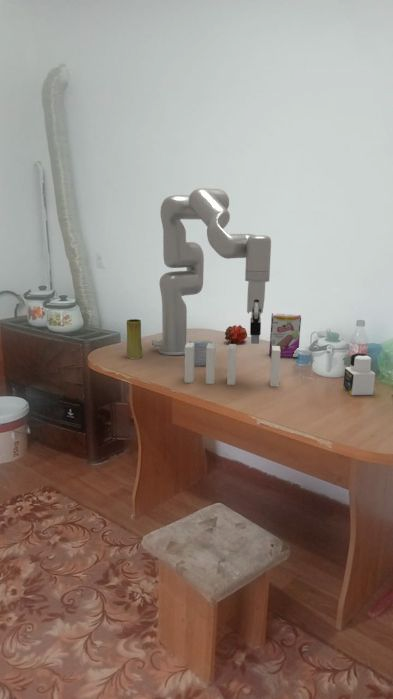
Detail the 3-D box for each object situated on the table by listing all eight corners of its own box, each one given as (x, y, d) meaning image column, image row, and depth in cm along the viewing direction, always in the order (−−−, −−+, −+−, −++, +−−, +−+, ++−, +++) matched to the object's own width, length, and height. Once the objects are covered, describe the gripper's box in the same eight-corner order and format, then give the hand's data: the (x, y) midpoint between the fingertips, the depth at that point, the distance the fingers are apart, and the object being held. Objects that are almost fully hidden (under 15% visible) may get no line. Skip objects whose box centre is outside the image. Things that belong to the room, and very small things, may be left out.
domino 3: (227, 384, 168) (228, 348, 165) (228, 378, 174) (229, 344, 171) (234, 384, 168) (236, 349, 165) (235, 378, 174) (236, 344, 170)
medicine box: (208, 362, 192) (209, 339, 190) (212, 365, 188) (213, 342, 186) (188, 363, 190) (188, 340, 188) (191, 367, 186) (192, 343, 184)
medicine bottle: (342, 387, 166) (346, 351, 163) (364, 387, 167) (368, 351, 164) (351, 395, 159) (354, 358, 156) (373, 395, 160) (377, 357, 157)
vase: (145, 355, 199) (144, 319, 196) (138, 360, 194) (137, 322, 190) (130, 354, 201) (129, 318, 198) (123, 358, 196) (122, 321, 192)
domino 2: (205, 383, 169) (206, 347, 166) (207, 377, 174) (207, 343, 171) (213, 383, 168) (214, 348, 165) (214, 378, 174) (215, 343, 171)
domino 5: (270, 386, 167) (272, 350, 163) (270, 380, 172) (271, 345, 169) (278, 386, 166) (280, 350, 163) (277, 380, 172) (279, 346, 169)
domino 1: (184, 382, 169) (184, 347, 166) (186, 376, 175) (187, 342, 172) (192, 382, 169) (192, 347, 166) (194, 377, 175) (194, 342, 172)
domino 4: (251, 343, 164) (252, 306, 160) (251, 339, 169) (252, 302, 166) (258, 343, 163) (260, 306, 160) (258, 339, 169) (260, 303, 166)
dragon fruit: (222, 348, 218) (243, 348, 225) (235, 340, 211) (256, 340, 219) (217, 330, 220) (238, 330, 228) (229, 321, 214) (250, 322, 222)
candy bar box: (269, 357, 200) (271, 315, 195) (268, 353, 204) (271, 313, 200) (298, 358, 199) (301, 316, 194) (297, 354, 203) (300, 313, 199)
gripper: (245, 272, 170) (243, 326, 174) (244, 279, 153) (242, 338, 158) (268, 273, 169) (266, 327, 173) (270, 279, 152) (267, 339, 157)
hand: (255, 332), depth 165 cm, fingers closed on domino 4, 6 cm apart
